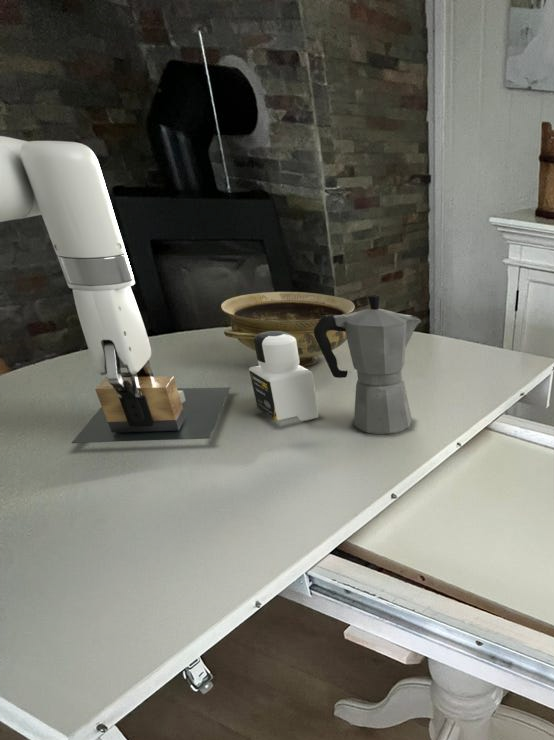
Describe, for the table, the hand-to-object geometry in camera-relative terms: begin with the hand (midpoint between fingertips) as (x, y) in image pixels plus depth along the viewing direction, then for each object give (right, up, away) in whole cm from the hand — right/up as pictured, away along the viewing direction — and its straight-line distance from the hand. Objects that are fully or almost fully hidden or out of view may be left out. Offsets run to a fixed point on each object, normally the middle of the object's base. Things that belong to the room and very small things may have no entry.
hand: (146, 416), depth 85 cm
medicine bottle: (+17, +3, +9) cm, 20 cm away
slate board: (-1, +2, +6) cm, 7 cm away
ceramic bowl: (+12, +23, +32) cm, 41 cm away
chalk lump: (0, +6, +9) cm, 10 cm away
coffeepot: (+32, +2, +8) cm, 33 cm away
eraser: (0, -1, +1) cm, 1 cm away
